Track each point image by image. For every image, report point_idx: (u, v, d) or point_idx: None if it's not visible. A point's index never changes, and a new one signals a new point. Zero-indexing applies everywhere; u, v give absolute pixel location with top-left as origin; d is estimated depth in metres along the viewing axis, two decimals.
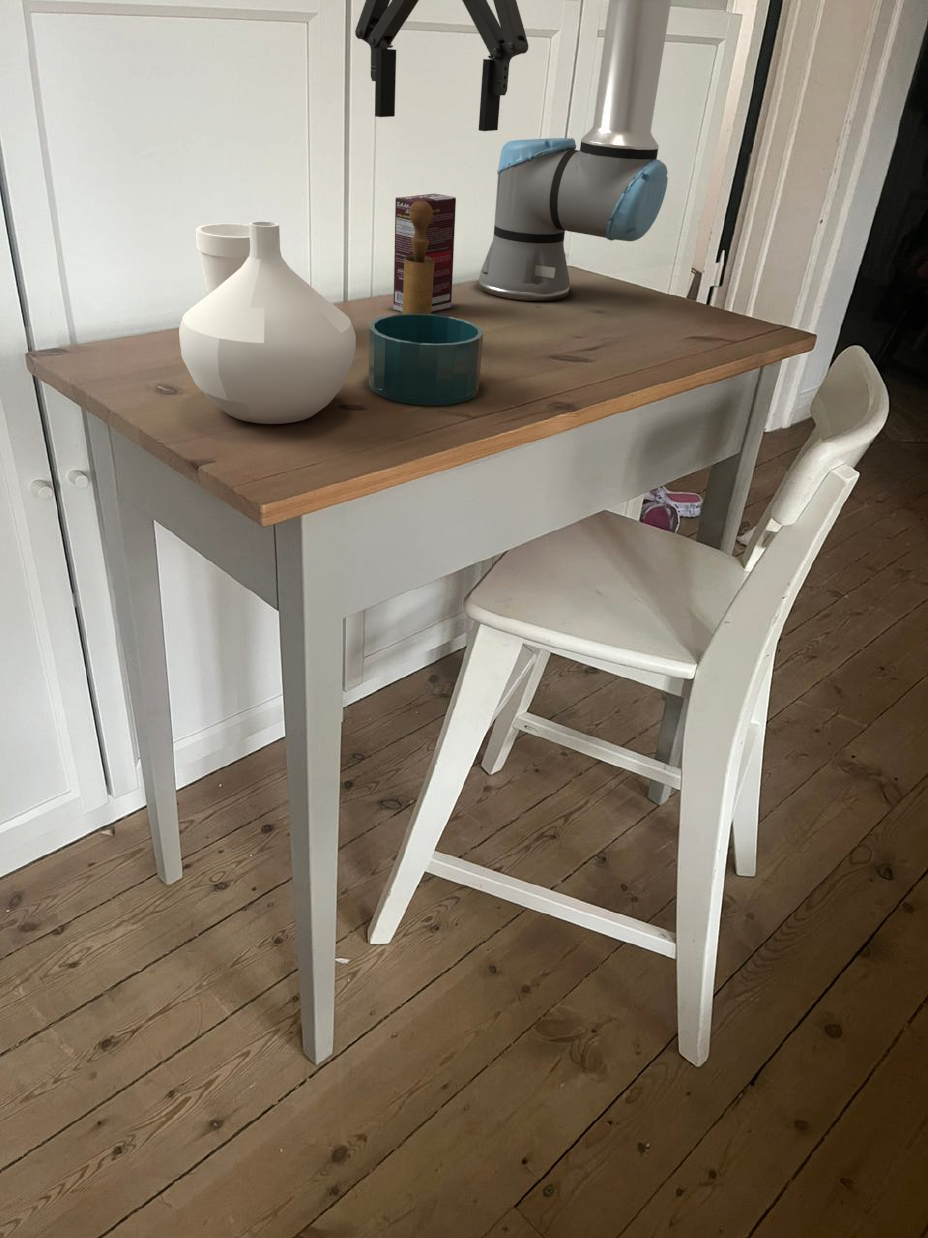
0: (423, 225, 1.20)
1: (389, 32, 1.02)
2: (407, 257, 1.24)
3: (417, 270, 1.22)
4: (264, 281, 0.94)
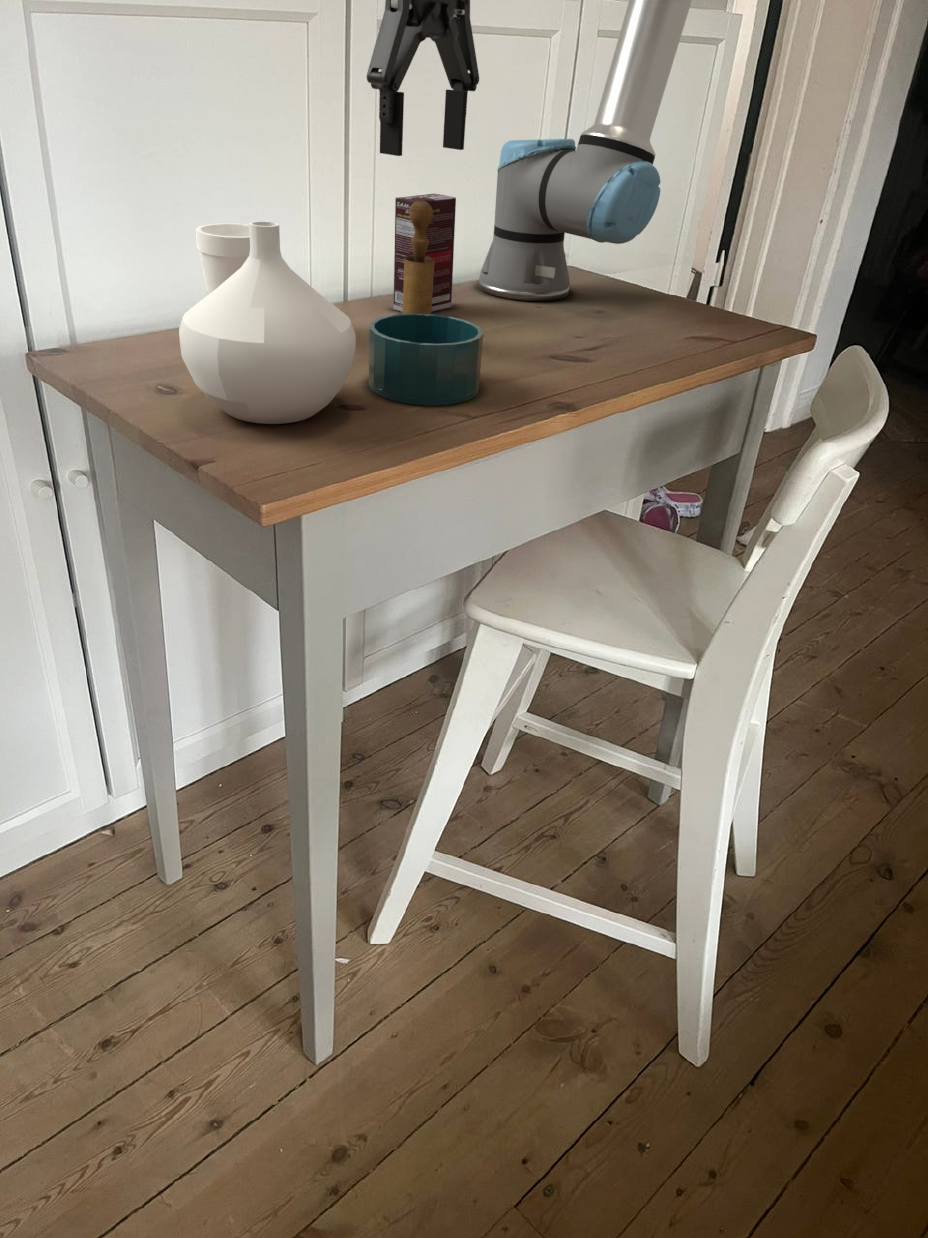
0: (423, 225, 1.20)
1: (452, 75, 1.17)
2: (407, 257, 1.24)
3: (417, 270, 1.22)
4: (264, 281, 0.94)
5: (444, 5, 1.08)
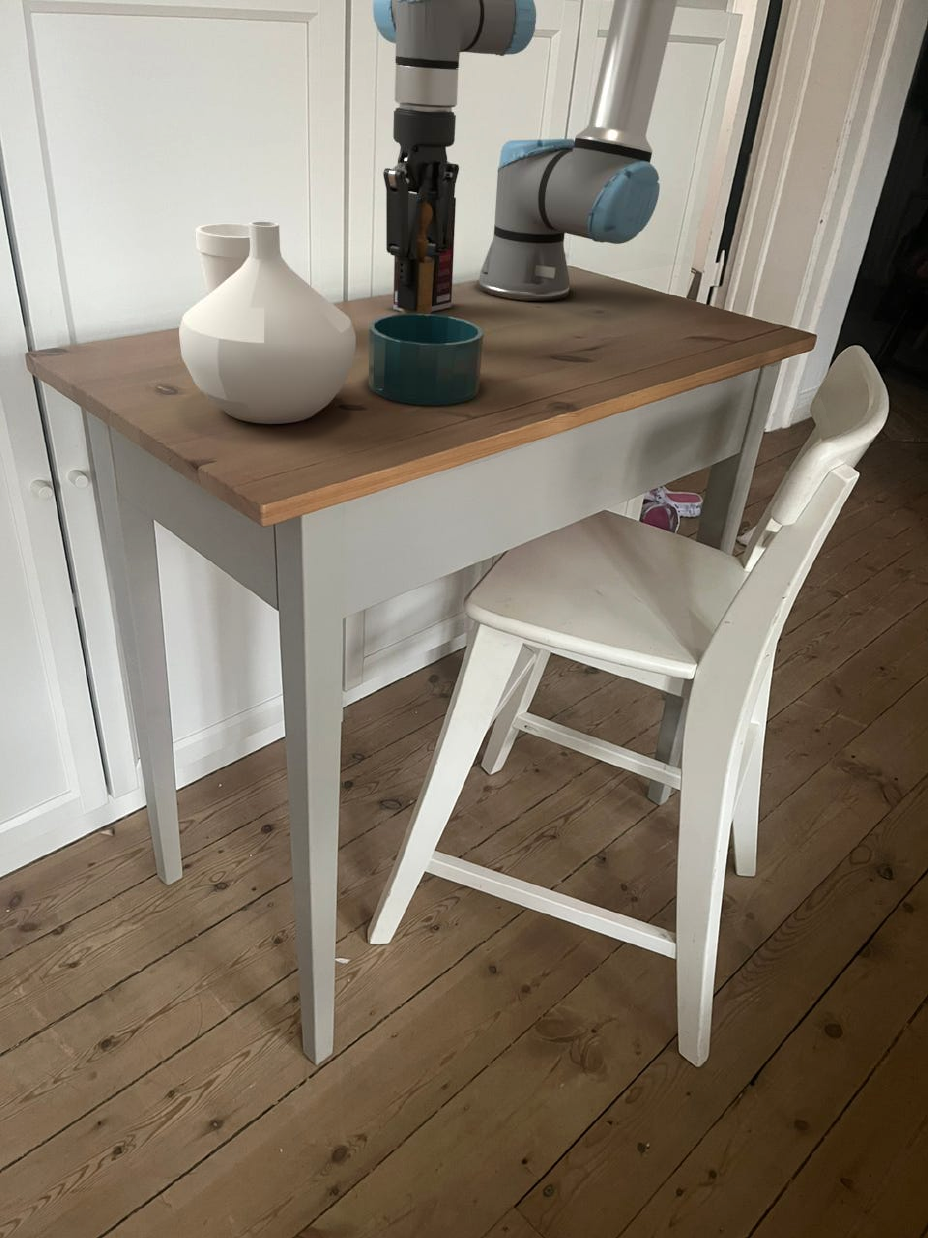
0: (423, 225, 1.20)
1: (427, 234, 1.24)
2: None
3: None
4: (264, 281, 0.94)
5: (436, 164, 1.17)
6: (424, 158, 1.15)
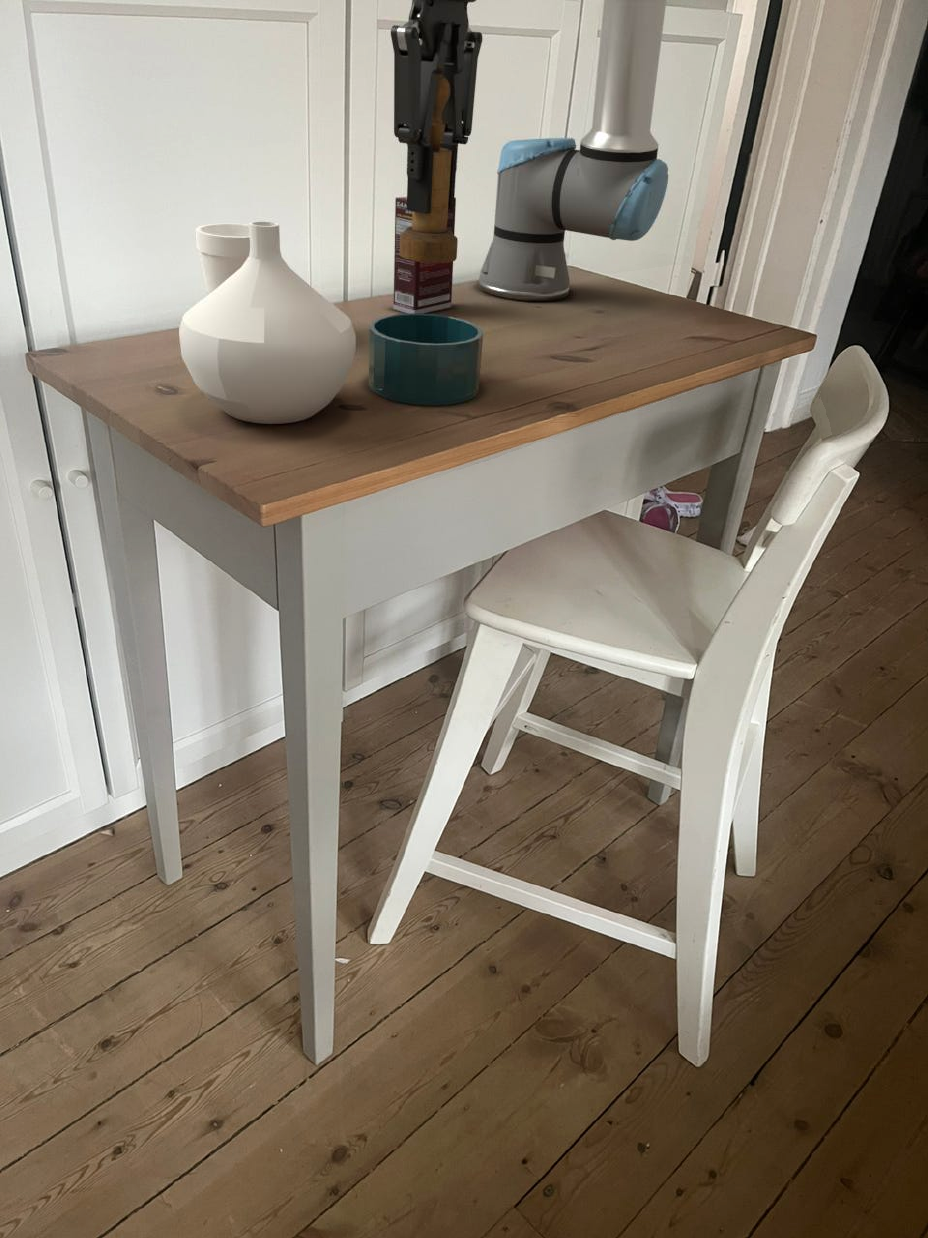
0: (438, 104, 0.98)
1: (443, 120, 1.02)
2: None
3: None
4: (264, 281, 0.94)
5: (456, 26, 0.95)
6: (441, 16, 0.94)
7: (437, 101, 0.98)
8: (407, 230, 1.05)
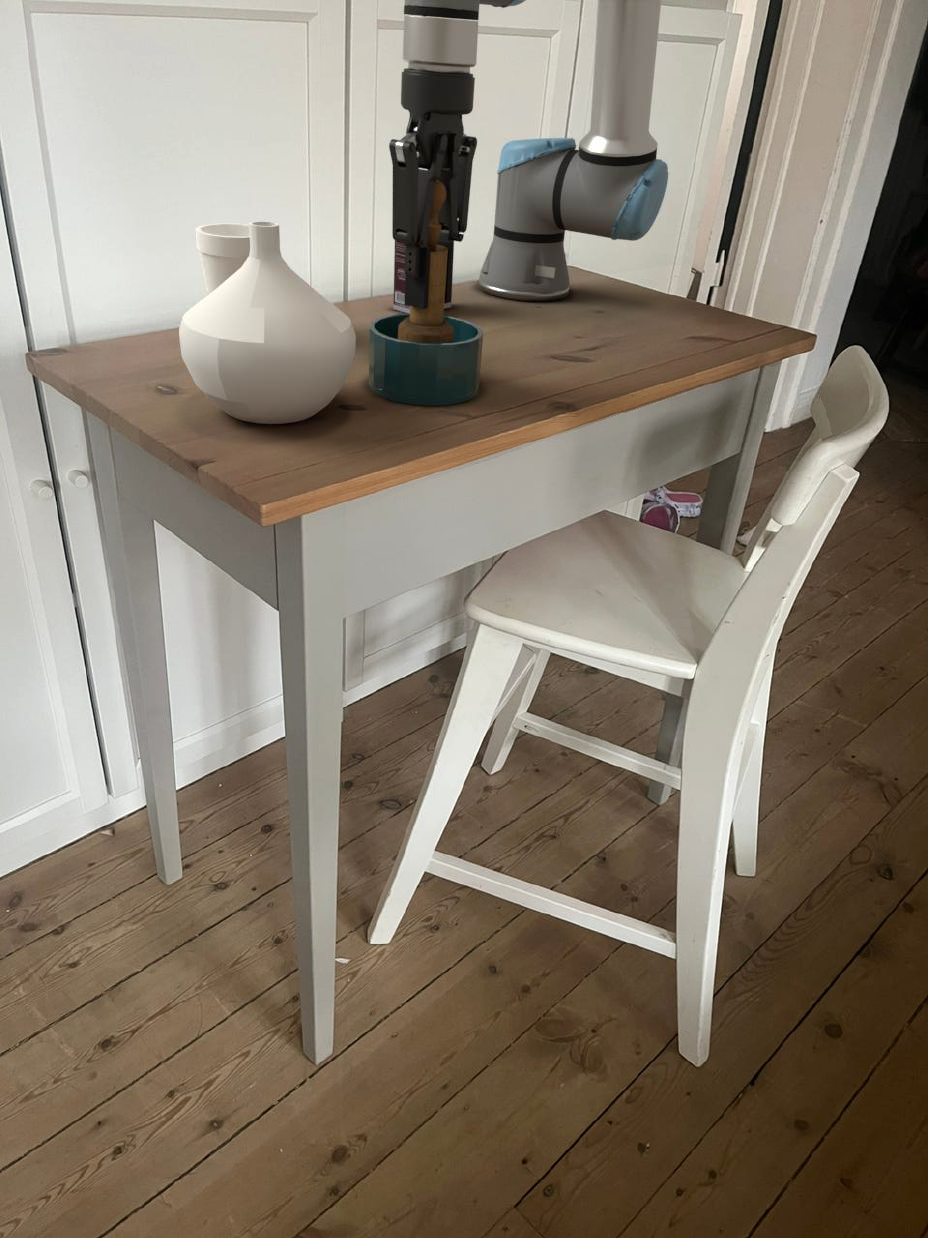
0: (435, 208, 1.03)
1: (440, 219, 1.06)
2: None
3: None
4: (264, 281, 0.94)
5: (451, 135, 1.00)
6: (437, 128, 0.98)
7: (434, 205, 1.02)
8: (405, 322, 1.09)
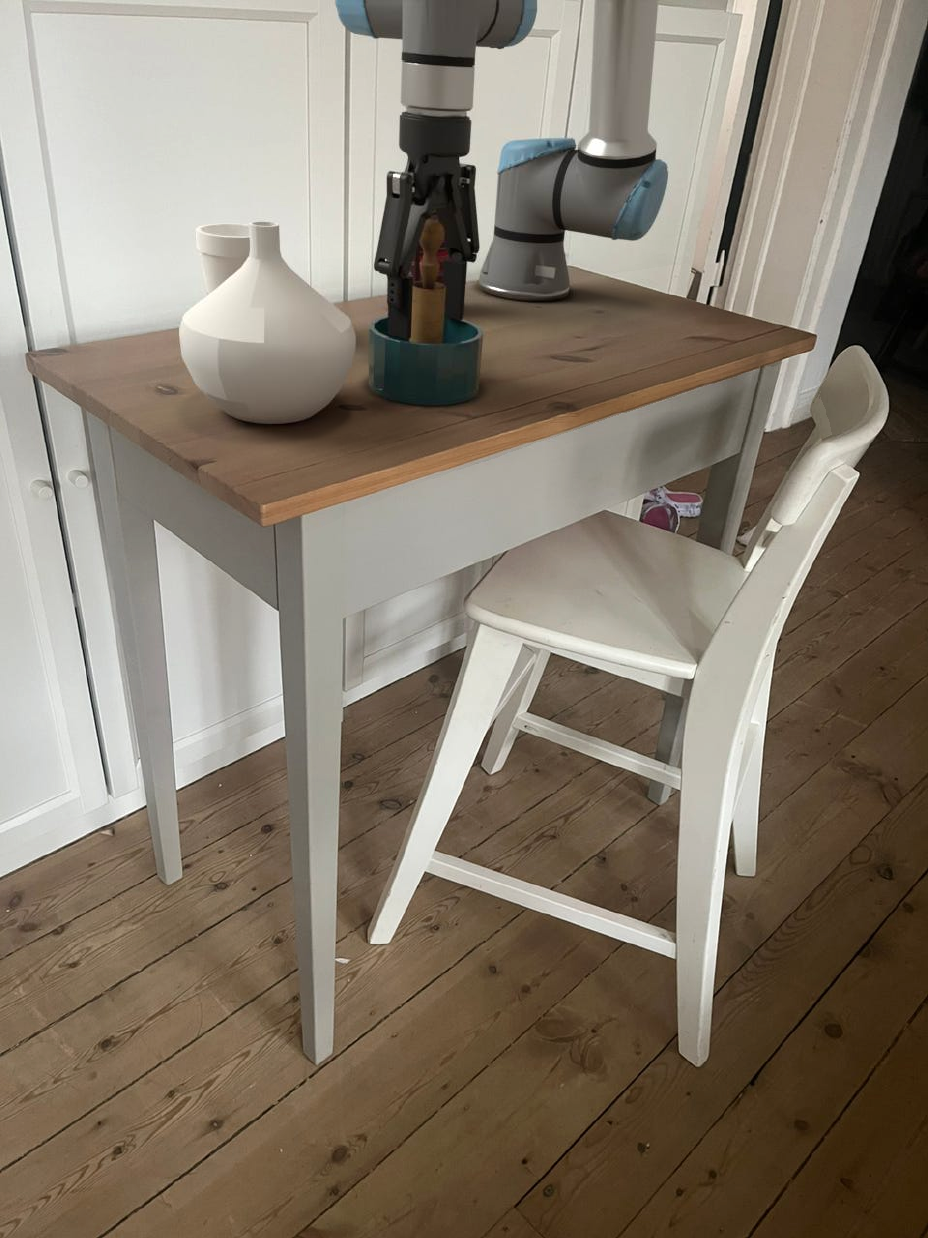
0: (433, 247, 1.05)
1: (451, 245, 1.10)
2: (415, 283, 1.08)
3: (426, 298, 1.07)
4: (264, 281, 0.94)
5: (449, 176, 1.02)
6: (435, 170, 1.00)
7: (432, 244, 1.04)
8: None
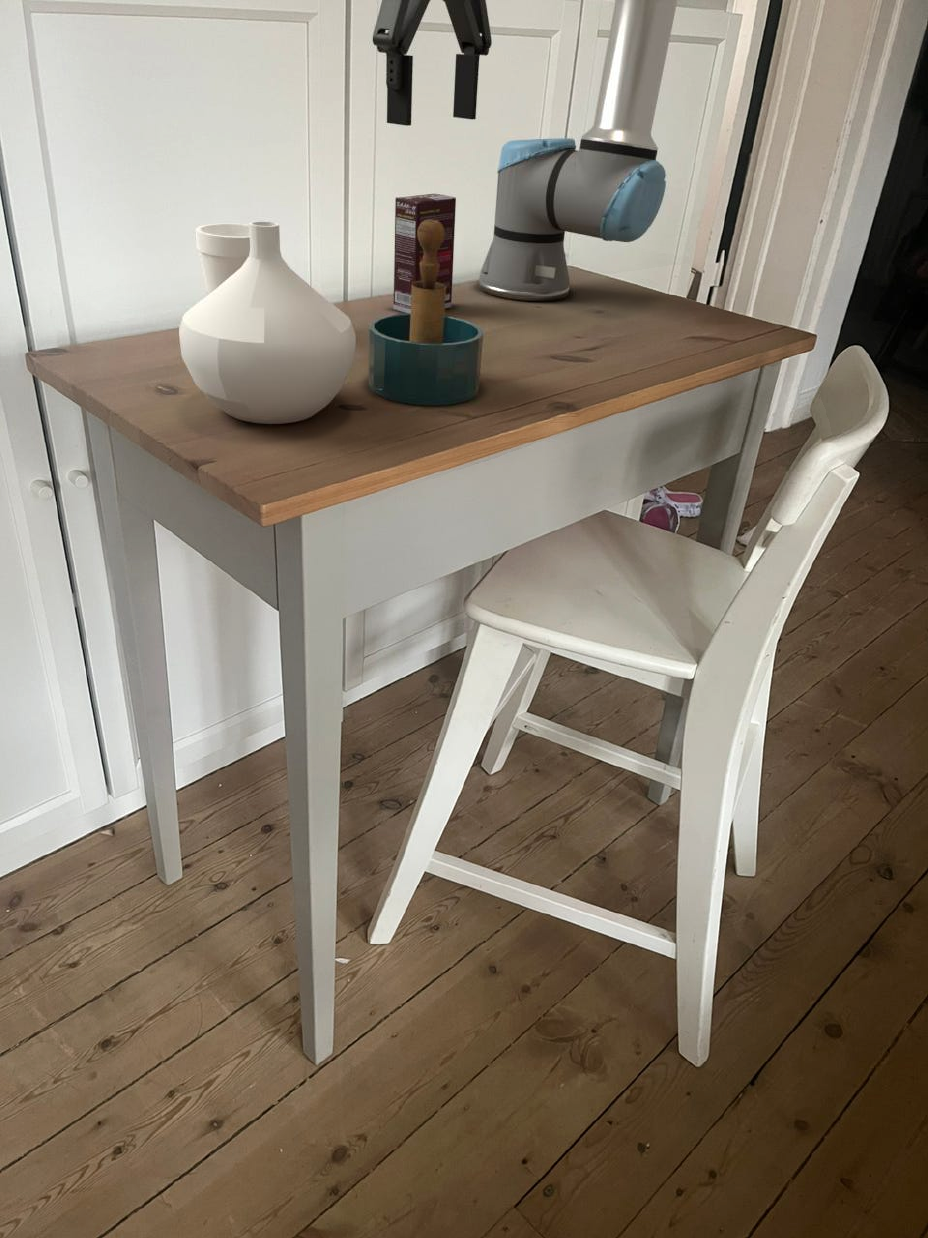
0: (433, 247, 1.05)
1: (463, 38, 1.08)
2: (415, 283, 1.08)
3: (426, 298, 1.07)
4: (264, 281, 0.94)
5: None
6: None
7: (432, 244, 1.04)
8: None
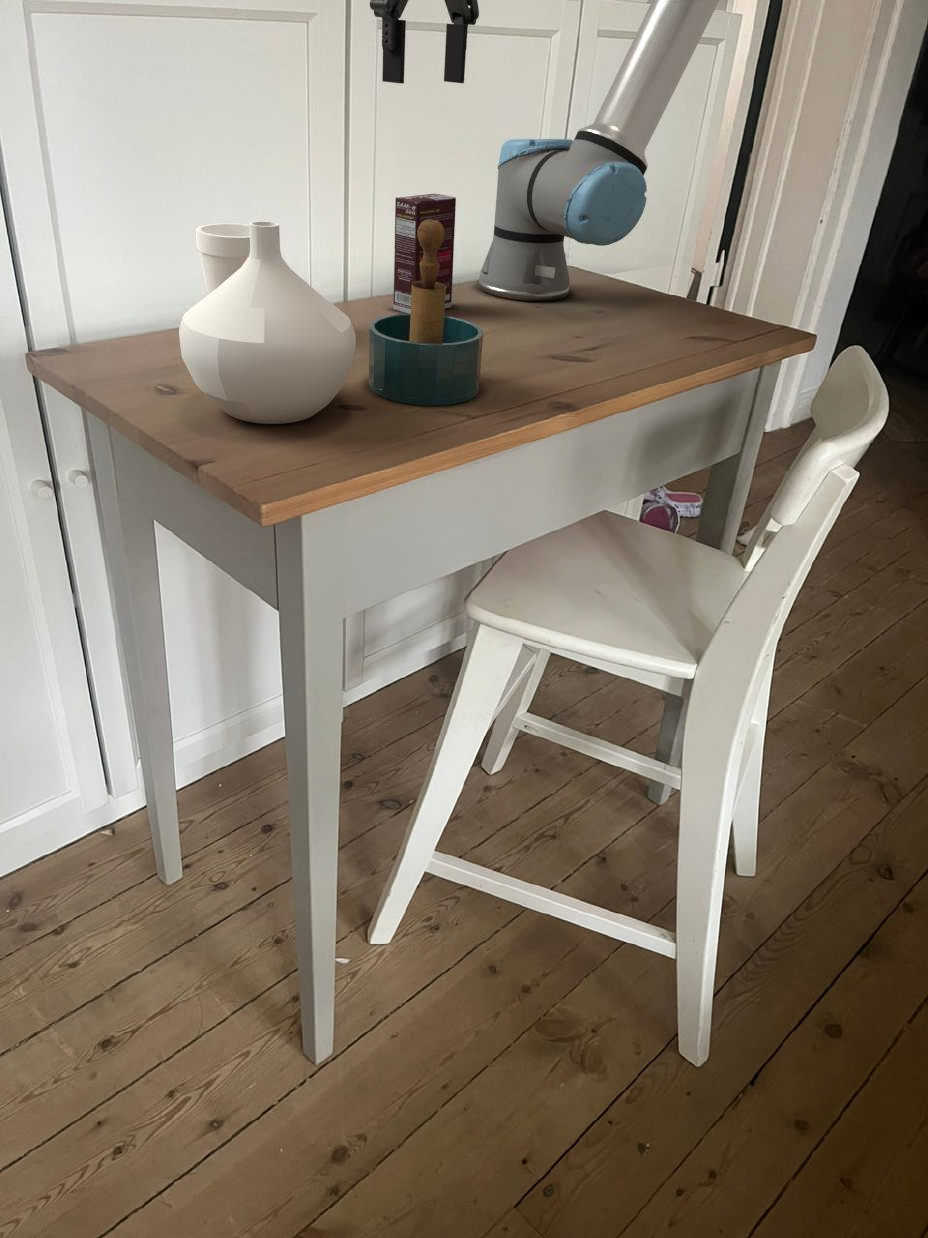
0: (433, 247, 1.05)
1: (452, 9, 1.20)
2: (415, 283, 1.08)
3: (426, 298, 1.07)
4: (264, 281, 0.94)
5: None
6: None
7: (432, 244, 1.04)
8: None
